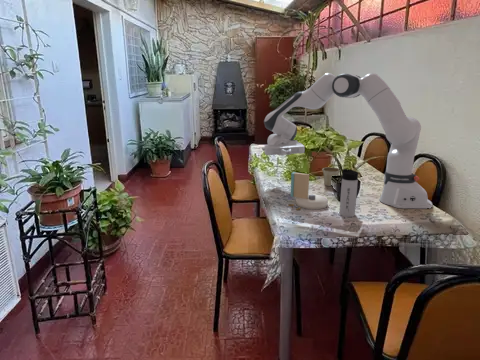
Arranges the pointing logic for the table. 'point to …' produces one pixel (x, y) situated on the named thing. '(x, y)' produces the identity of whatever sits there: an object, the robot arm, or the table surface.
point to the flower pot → (329, 174)
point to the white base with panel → (305, 193)
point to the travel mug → (348, 193)
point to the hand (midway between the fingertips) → (288, 153)
